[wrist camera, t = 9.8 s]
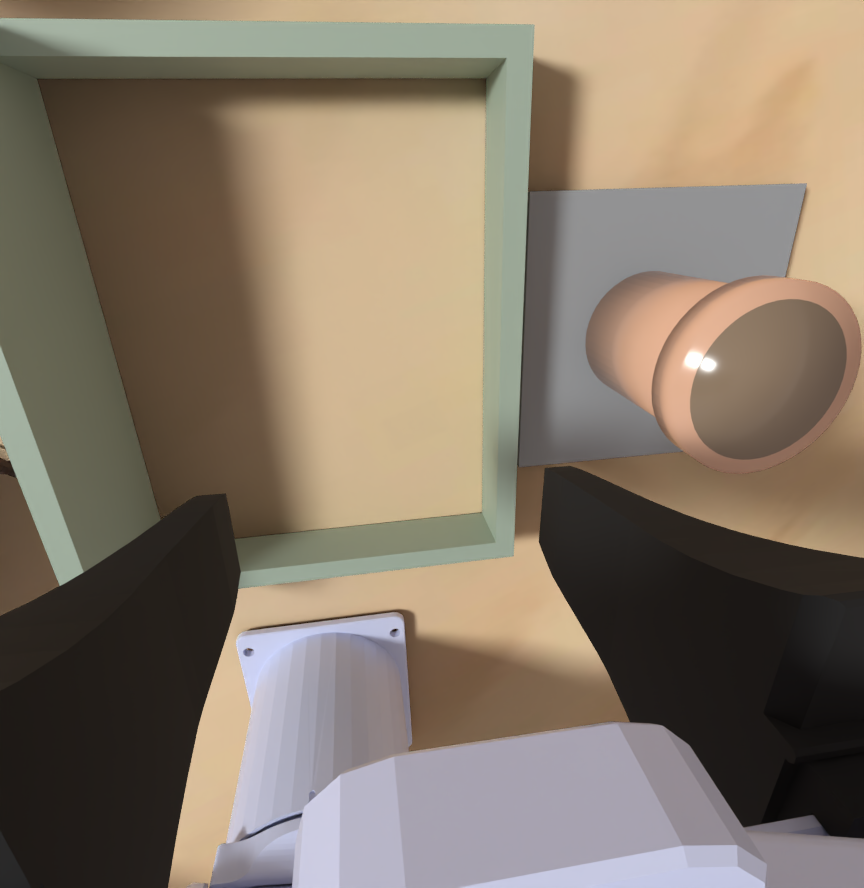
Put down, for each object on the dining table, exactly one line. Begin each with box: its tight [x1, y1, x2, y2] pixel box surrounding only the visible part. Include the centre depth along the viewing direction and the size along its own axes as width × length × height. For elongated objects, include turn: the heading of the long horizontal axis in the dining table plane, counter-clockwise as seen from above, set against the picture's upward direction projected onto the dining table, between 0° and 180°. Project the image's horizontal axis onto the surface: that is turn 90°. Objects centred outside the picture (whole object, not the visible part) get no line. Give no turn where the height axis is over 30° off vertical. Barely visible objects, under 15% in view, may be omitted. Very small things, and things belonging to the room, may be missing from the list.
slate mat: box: [517, 184, 807, 467], centre depth 22 cm, size 11×11×1 cm
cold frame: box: [0, 18, 534, 589], centre depth 17 cm, size 19×16×6 cm
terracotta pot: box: [585, 271, 861, 474], centre depth 18 cm, size 6×6×7 cm
